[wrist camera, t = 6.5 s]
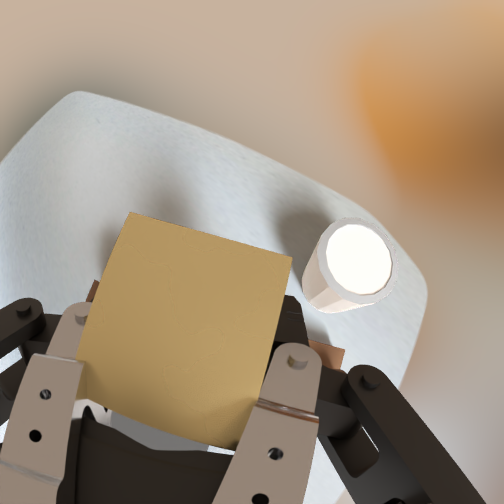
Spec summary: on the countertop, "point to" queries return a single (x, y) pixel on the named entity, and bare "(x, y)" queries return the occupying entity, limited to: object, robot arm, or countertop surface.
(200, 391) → the pale wooden block
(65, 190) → the countertop surface
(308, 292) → the white cup
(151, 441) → the mat
